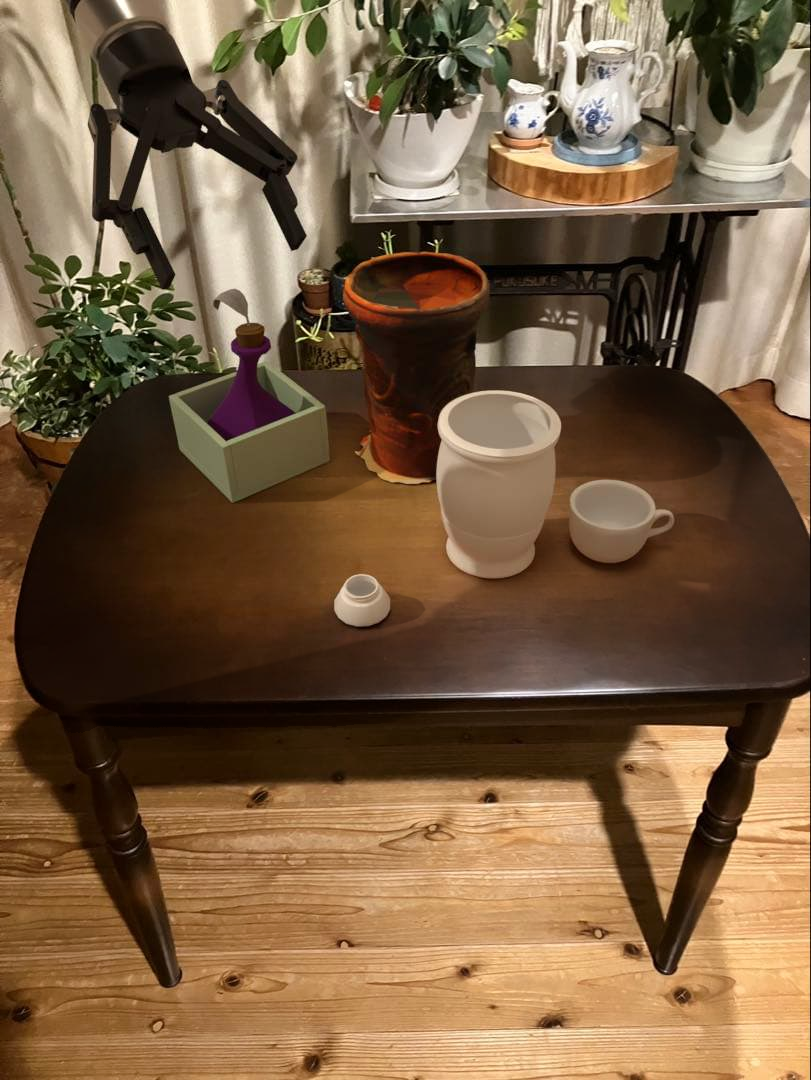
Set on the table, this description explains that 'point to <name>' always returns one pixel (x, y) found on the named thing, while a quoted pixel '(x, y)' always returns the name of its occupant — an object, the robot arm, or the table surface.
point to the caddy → (251, 435)
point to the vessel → (413, 352)
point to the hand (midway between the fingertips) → (236, 262)
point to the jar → (495, 479)
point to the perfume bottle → (246, 379)
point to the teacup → (612, 520)
